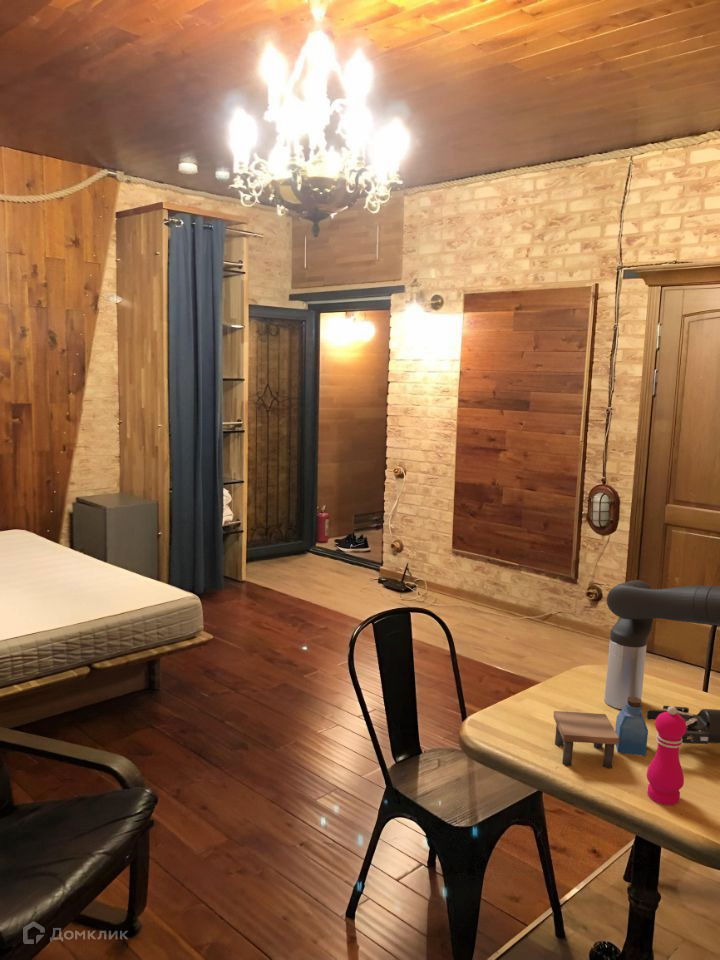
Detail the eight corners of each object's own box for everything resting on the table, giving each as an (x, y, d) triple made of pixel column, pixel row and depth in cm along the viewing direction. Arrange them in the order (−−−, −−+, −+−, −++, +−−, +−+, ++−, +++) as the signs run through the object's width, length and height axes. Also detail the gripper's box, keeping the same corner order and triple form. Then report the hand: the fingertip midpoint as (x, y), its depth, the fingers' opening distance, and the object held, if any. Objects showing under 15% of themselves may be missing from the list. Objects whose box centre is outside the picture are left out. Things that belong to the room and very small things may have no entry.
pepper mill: (662, 809, 158) (672, 716, 155) (637, 791, 165) (646, 701, 162) (689, 803, 161) (699, 711, 158) (663, 785, 168) (672, 697, 165)
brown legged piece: (551, 740, 186) (554, 710, 185) (602, 744, 185) (605, 714, 184) (561, 766, 174) (564, 734, 173) (616, 770, 173) (619, 738, 172)
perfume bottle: (645, 756, 180) (650, 706, 179) (617, 752, 182) (622, 703, 180) (641, 743, 186) (646, 695, 185) (614, 740, 188) (618, 692, 186)
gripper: (713, 698, 188) (644, 694, 189) (738, 725, 174) (664, 721, 175) (709, 727, 190) (641, 723, 190) (734, 757, 176) (660, 752, 176)
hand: (652, 722), depth 183 cm, fingers open, 8 cm apart
